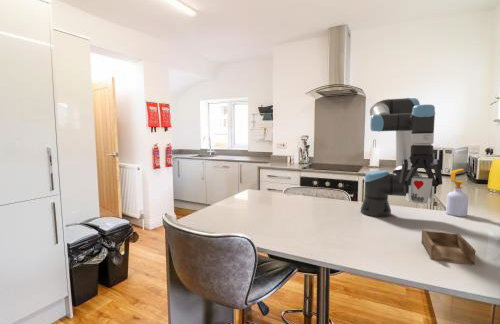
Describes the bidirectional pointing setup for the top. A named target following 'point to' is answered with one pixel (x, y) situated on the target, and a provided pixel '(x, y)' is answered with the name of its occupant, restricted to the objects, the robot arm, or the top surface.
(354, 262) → the top surface
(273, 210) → the top surface
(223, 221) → the top surface
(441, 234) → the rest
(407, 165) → the robot arm
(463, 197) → the soap bottle
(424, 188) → the cup
